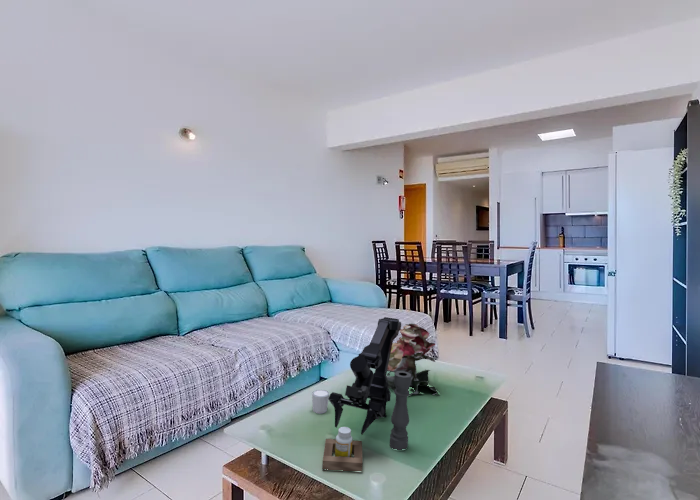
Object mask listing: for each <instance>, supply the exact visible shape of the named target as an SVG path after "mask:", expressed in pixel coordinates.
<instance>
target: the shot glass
mask: <svg viewBox="0 0 700 500" xmlns="http://www.w3.org/2000/svg"><path fill="white" fill-rule="evenodd" d="M311 395H312V397H311V398H312V412H313V413H316V414H318V415H319V414H326V413H327V412H328V406H329V399H328V398H329V396H330V391H327V390H325V389H316V390H315V389H314V391H312V393H311Z"/></svg>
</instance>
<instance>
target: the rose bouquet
mask: <svg viewBox="0 0 700 500" xmlns="http://www.w3.org/2000/svg"><path fill="white" fill-rule="evenodd" d="M399 334H401V337H399V338H398V340H397V341H396V342H393V343H392V348H391V353H390V358H389V364H388V369H387V372H388V373H387V374H386V377H387V380H388V383H389V385H388V387H389V390H391V391H393V392H394V390H395V389H396V387H395V384H394V376H392V375H391V373H394V374H395V372H397V371H405V372H408V373H410V374H411V385H410V387H412V388H414V390H415V392H414V391H413V392H414V393H411V394H409V395H410V397H411V396H412V395H420V394H419V393H420V392H421V391H420V390H419V387H418V386H420V385H421V387H425V388H428V389H429V390H432V391H433V392H435V393H433V394H432V396H436V395H435V394H438V393H437V391H438V390H437V391H436V389H437V388H436V389H435V386H433V387H429V386H427V385H428V383H429V372H430V371H431V370H430V369H424V370H421V371H419V372H418V371H417V364H416V362H417V361H418V362H419V361H422V360H428V361H431V362H435V363H436V359H434V358H433V357H431V356H429V355H426V354H427V353H432V352H434V351H433V350H431V348H432V347H435V346H436V345H437V344H436V343H435V342H429V341H428V339H429V337H430V335H431V334H430V332H429V331H428V330H427V329H425V328H423V327H422V326H419V325H418V324H416V323H413V322H409V323H407V324H405V325H404V326H403V327H402V328H401V329H400V331H399ZM430 350H431V351H430ZM427 381H428V382H427Z"/></svg>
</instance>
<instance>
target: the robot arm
mask: <svg viewBox="0 0 700 500" xmlns="http://www.w3.org/2000/svg"><path fill="white" fill-rule="evenodd" d="M400 329H402V322H401V321H400V319H398V318H393V317H386V316H384V317H383V318H379V319H378V321H377V325H376V329H375V331H374V333H373V335H372V338H371V339H370V343H369V344H368V345H366V346H364V348H363V349H362V351H361V352H360V353H358V356H355V357H353V358H352V359H351V361H350V363H349V367H350V370H351V371H352V373H353V375H354V376H355V380H354V382H353V383H352V385H346V387H345V393H344V396H347V398H345V397H344V396H343V393H338V392H333V391H332V392H331V393H329V398H328V402H330V404H331V405H332V406H333V408H334V427H335V428H338V426H339V423H340V420H341V417H342V415H343V414H342V413H343V412H344V408H343V407H344V406H349V407H353V408H356V409H361V410H364V411H366V416H365V419H364V422H363V425H362V428H361V432H360V435H361V436H362V435H364V434H365V433H366V431H367V430H368V429H369V427H371V425H372V424H373V423H375V421H376V420H379V419H380V418H381V419H383V418H387V403H388V402H390V401H391V396H392V394H391V393H392V392H391V389H390V388H389V387H388V385H389V383H388V380H387V377H386V376H387V374H388V373H387V372H388V371H387V369H388V364H389V358H390V353H391V348H392V343H394V340H395V339H396V338H397V337H398V336H399V334H400ZM372 369H374V372H373V370H372ZM368 399H369V400H368ZM367 400H368V403H367Z"/></svg>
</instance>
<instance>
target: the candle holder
mask: <svg viewBox="0 0 700 500" xmlns="http://www.w3.org/2000/svg"><path fill="white" fill-rule="evenodd" d="M394 384H395V387H396V389H395V390H394V391H393V394H394V395H395V404H394V407H393V410H392V414H391V418H390V420H391V424H392V428H391V430H390V434H389V448H391V449H392V448H393V449H397V450H402V449H406V448H407V447H409V446H408V445H409V436H408V434H409V433H408V430H407V426H408V425H409V423H410V416H409V410H408V396H409V391H408V389H409V387H410V385H411V374H410V373H408V372H405V371H397V372H395V373H394ZM393 449H392V450H393ZM407 449H408V448H407ZM407 449H406V450H407Z"/></svg>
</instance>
